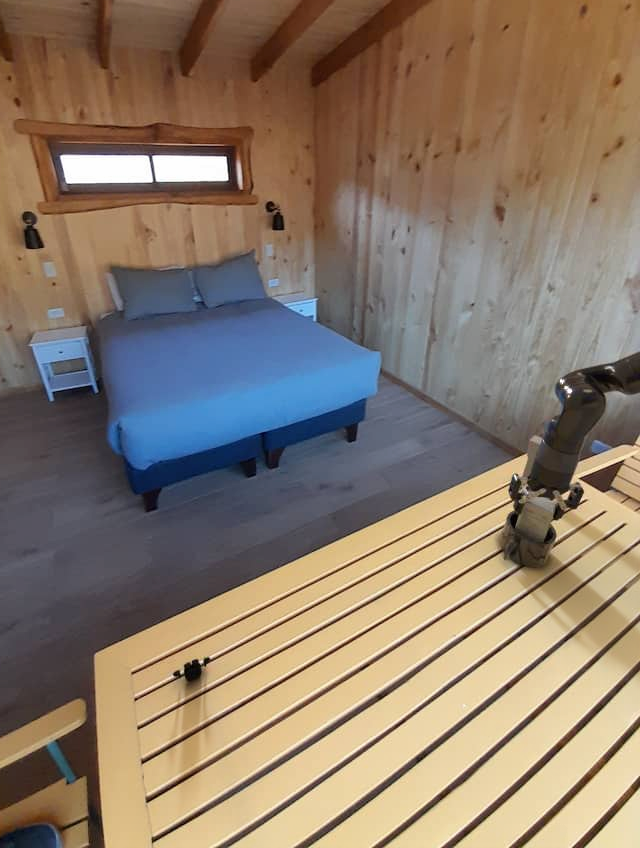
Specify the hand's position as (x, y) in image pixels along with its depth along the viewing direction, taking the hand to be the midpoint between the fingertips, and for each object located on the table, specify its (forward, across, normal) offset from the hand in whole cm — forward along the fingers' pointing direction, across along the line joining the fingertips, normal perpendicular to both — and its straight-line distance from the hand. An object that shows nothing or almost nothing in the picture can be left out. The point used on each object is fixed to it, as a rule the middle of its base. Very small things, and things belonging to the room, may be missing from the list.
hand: (535, 514), depth 95 cm
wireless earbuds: (+12, -68, -46) cm, 83 cm away
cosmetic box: (+8, 0, 0) cm, 8 cm away
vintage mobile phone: (+12, +7, +24) cm, 28 cm away
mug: (+12, -1, -1) cm, 12 cm away
